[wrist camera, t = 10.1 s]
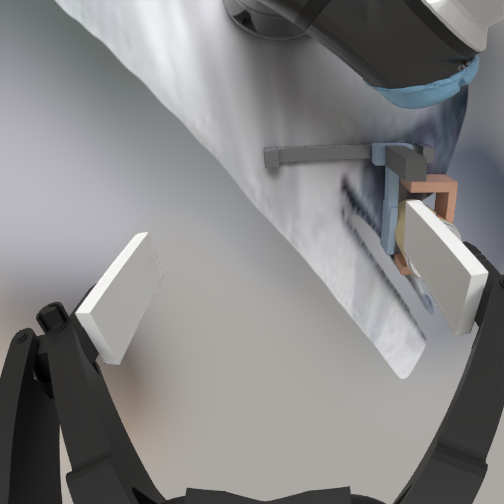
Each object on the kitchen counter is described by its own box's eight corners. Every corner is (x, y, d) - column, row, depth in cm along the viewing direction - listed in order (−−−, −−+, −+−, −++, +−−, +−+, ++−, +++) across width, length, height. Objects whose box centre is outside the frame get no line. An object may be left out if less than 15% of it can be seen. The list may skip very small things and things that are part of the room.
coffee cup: (436, 230, 50) (467, 265, 39) (392, 251, 52) (415, 291, 42) (423, 184, 46) (457, 213, 36) (376, 207, 49) (400, 241, 38)
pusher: (369, 141, 43) (394, 157, 34) (405, 141, 43) (437, 158, 33) (367, 244, 52) (385, 281, 42) (399, 242, 51) (422, 278, 41)
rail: (264, 147, 46) (263, 151, 43) (426, 143, 43) (434, 147, 40) (266, 163, 47) (265, 167, 44) (425, 158, 44) (433, 162, 41)
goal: (401, 174, 46) (411, 182, 42) (445, 174, 45) (458, 182, 41) (393, 261, 53) (401, 275, 49) (434, 258, 52) (443, 271, 48)
